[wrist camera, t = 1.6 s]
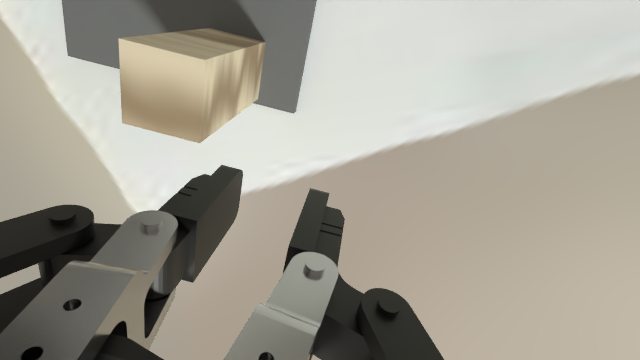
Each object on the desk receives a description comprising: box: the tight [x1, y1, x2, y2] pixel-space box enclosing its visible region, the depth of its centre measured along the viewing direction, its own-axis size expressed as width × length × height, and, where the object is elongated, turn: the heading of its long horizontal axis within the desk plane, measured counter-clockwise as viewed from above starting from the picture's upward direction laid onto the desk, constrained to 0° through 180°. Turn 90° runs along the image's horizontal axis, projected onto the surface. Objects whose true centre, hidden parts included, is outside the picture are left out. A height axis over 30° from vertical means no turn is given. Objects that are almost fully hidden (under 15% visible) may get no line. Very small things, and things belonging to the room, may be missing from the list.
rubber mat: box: [62, 0, 317, 113], centre depth 31 cm, size 10×22×1 cm, turn 78°
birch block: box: [118, 28, 266, 143], centre depth 26 cm, size 5×5×12 cm
